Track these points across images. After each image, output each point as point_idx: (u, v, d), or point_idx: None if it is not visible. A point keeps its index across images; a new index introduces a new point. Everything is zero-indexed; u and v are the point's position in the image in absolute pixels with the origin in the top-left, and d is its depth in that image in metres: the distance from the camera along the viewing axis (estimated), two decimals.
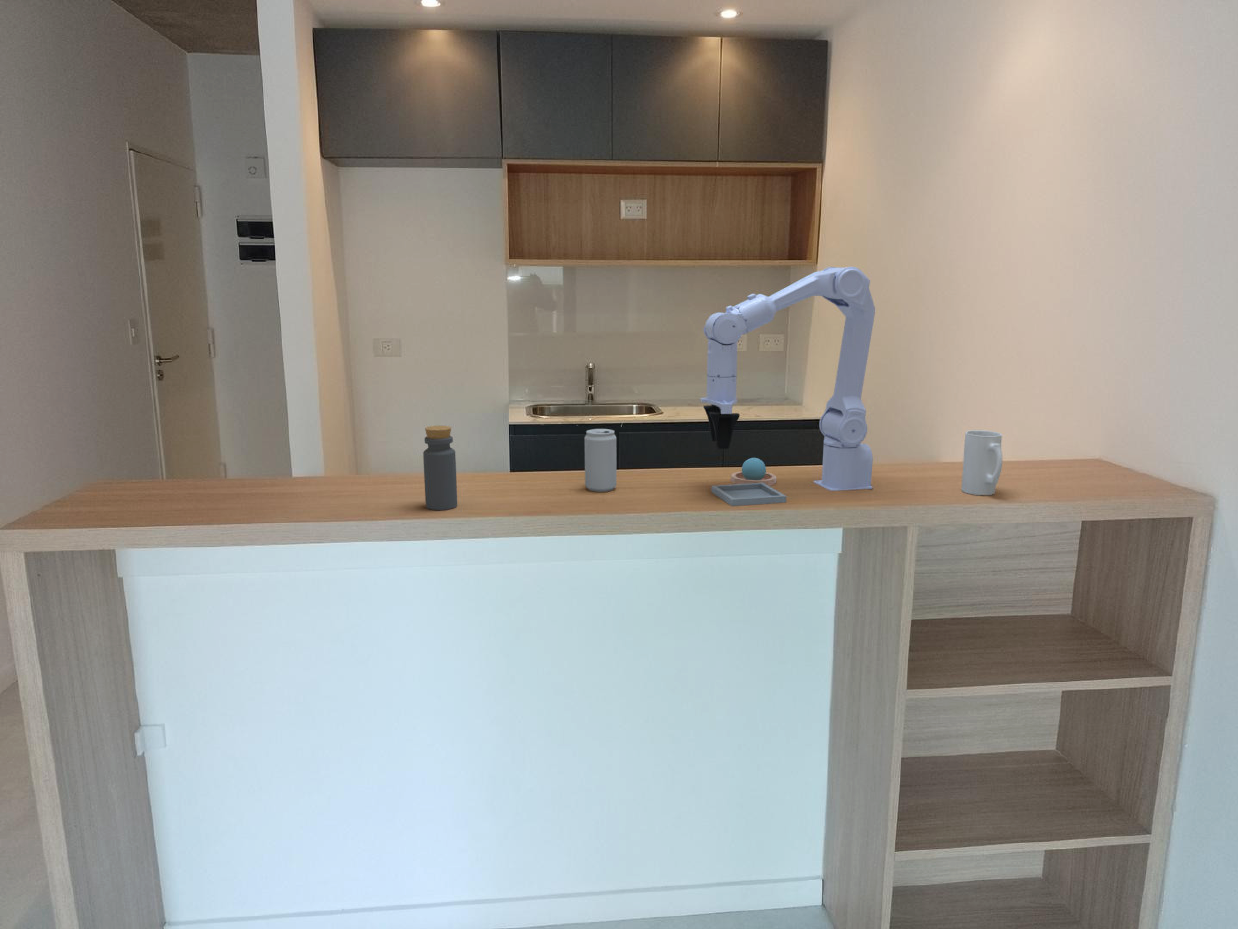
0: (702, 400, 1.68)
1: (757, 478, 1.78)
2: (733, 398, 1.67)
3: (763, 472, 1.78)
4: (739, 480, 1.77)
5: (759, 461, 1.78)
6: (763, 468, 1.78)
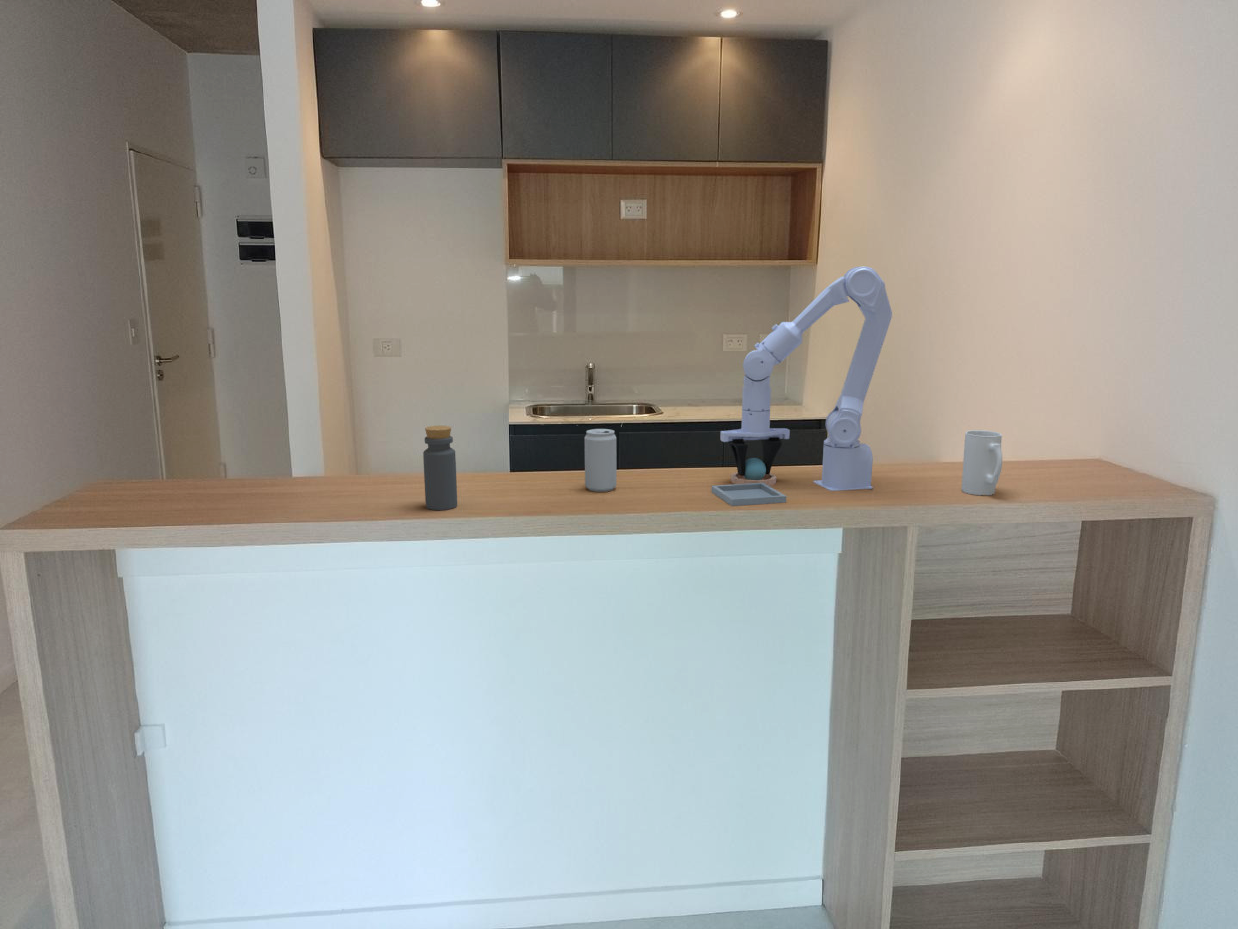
0: None
1: (757, 478, 1.78)
2: (750, 431, 1.76)
3: (763, 472, 1.78)
4: (739, 480, 1.77)
5: (759, 461, 1.78)
6: (763, 468, 1.78)
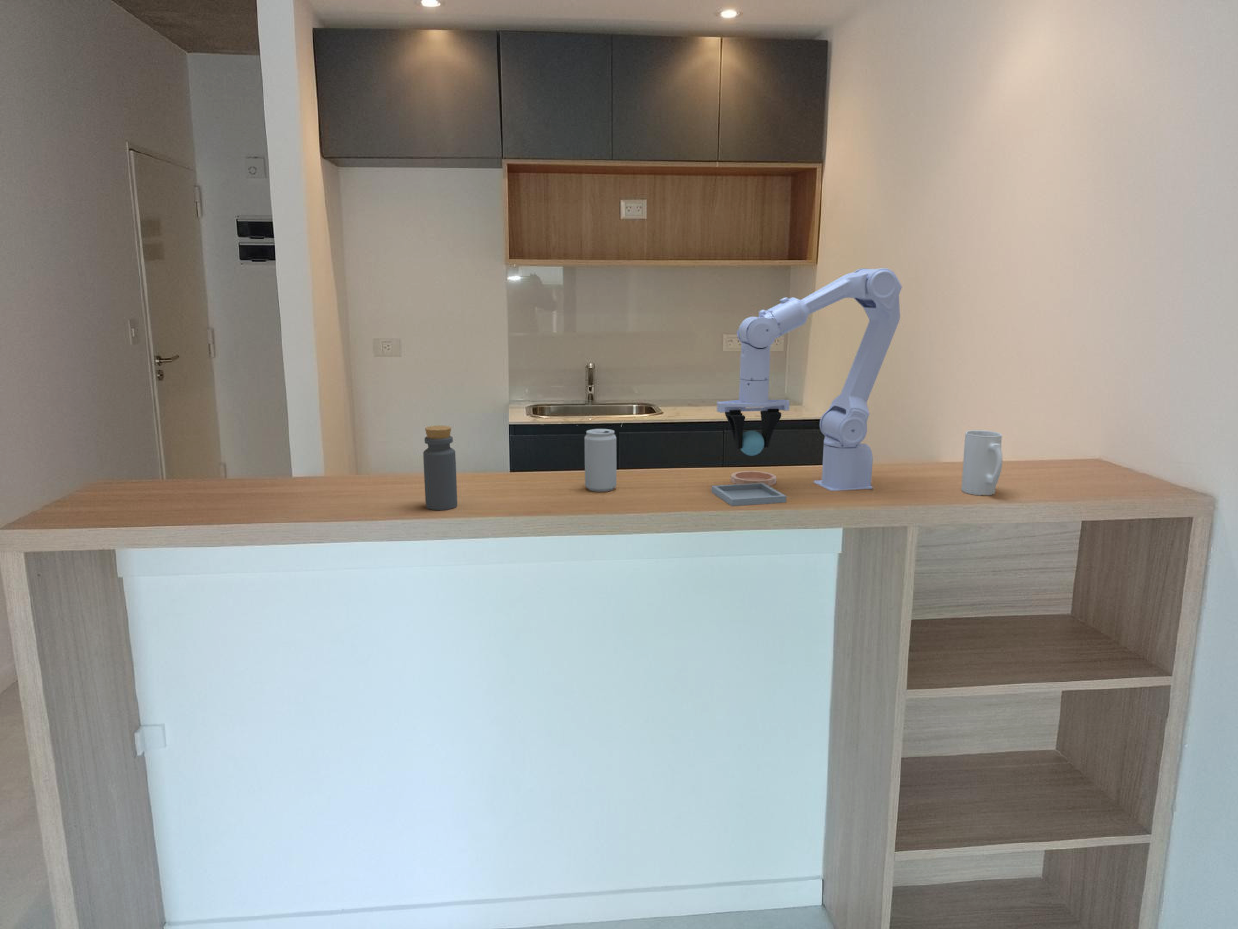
0: None
1: (754, 451, 1.71)
2: (748, 402, 1.68)
3: (761, 445, 1.71)
4: (739, 480, 1.77)
5: (757, 434, 1.71)
6: (761, 441, 1.71)
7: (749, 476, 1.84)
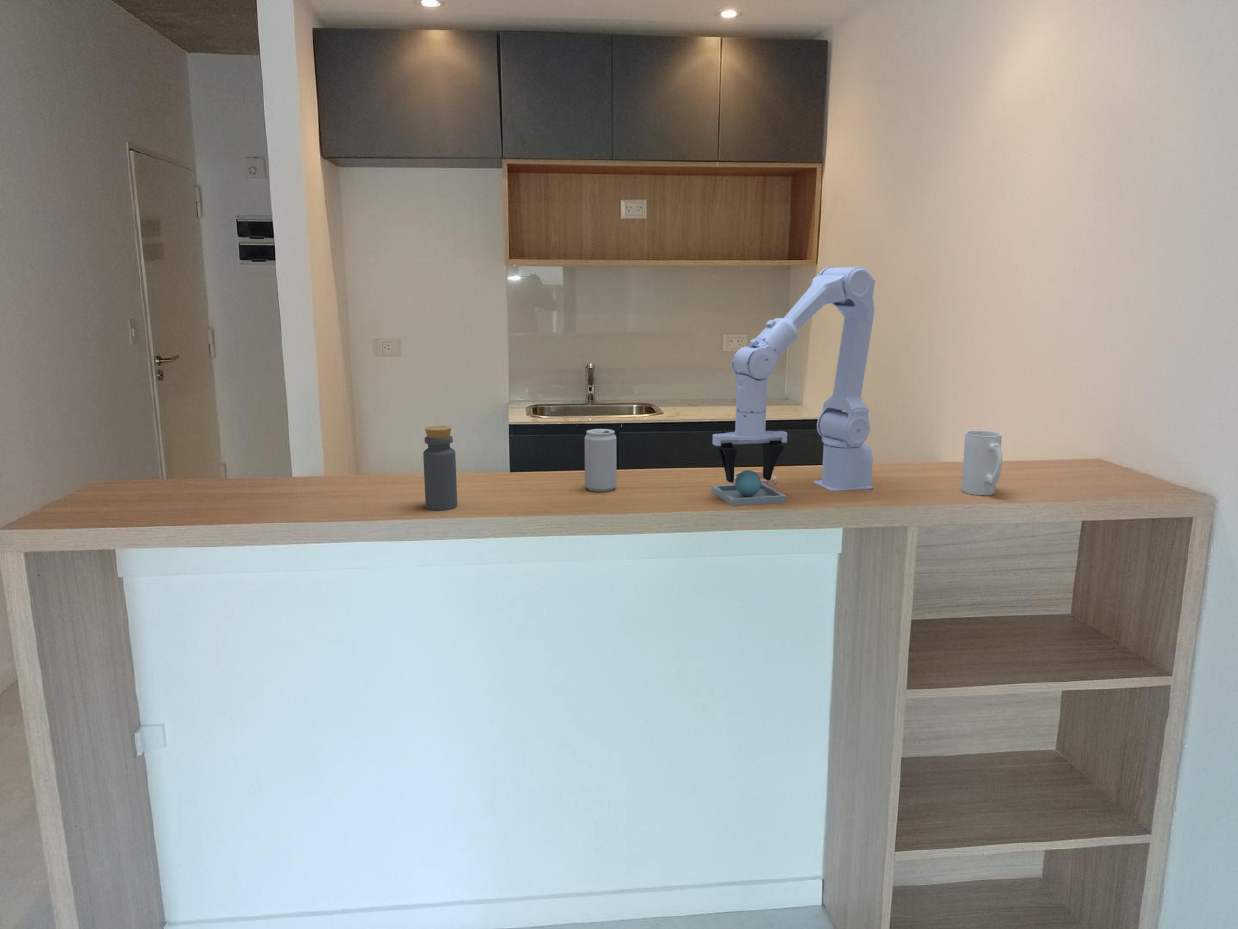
0: None
1: (751, 492, 1.66)
2: (744, 434, 1.63)
3: (757, 485, 1.66)
4: None
5: (753, 474, 1.66)
6: (757, 481, 1.66)
7: None
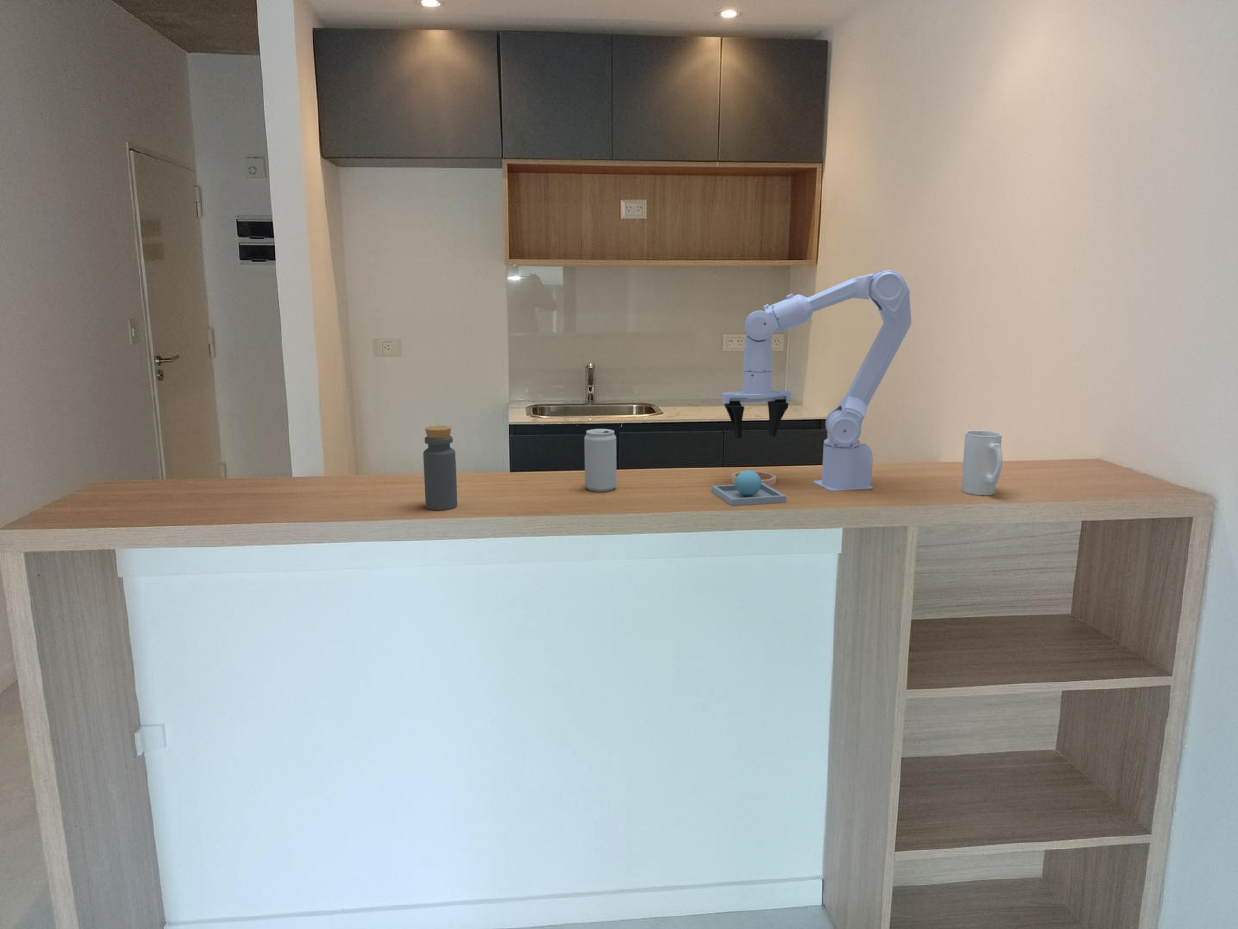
0: None
1: (751, 492, 1.66)
2: (751, 392, 1.74)
3: (758, 485, 1.66)
4: None
5: (754, 474, 1.66)
6: (758, 482, 1.66)
7: None
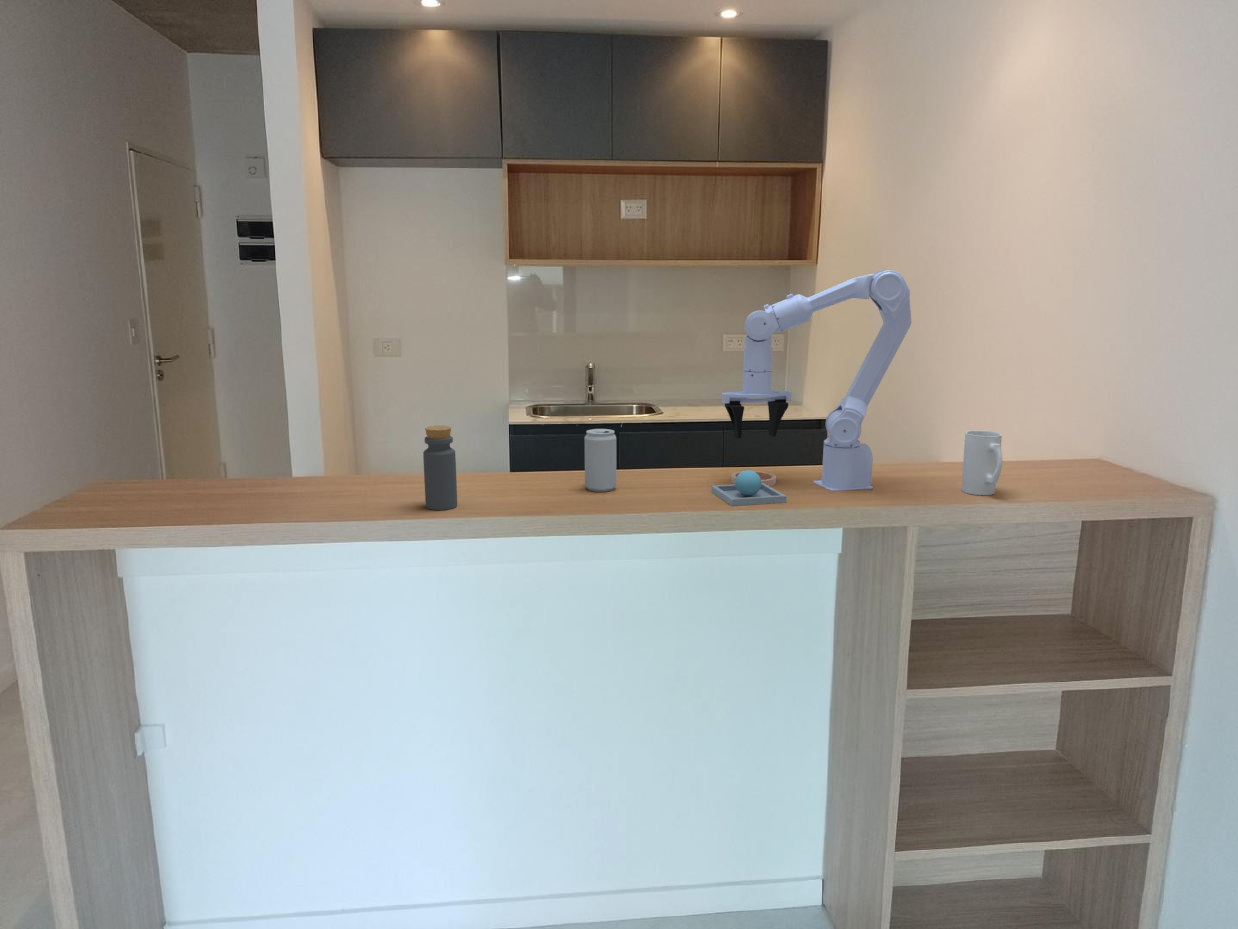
0: None
1: (751, 492, 1.66)
2: (751, 392, 1.74)
3: (758, 485, 1.66)
4: None
5: (754, 474, 1.66)
6: (758, 482, 1.66)
7: None
